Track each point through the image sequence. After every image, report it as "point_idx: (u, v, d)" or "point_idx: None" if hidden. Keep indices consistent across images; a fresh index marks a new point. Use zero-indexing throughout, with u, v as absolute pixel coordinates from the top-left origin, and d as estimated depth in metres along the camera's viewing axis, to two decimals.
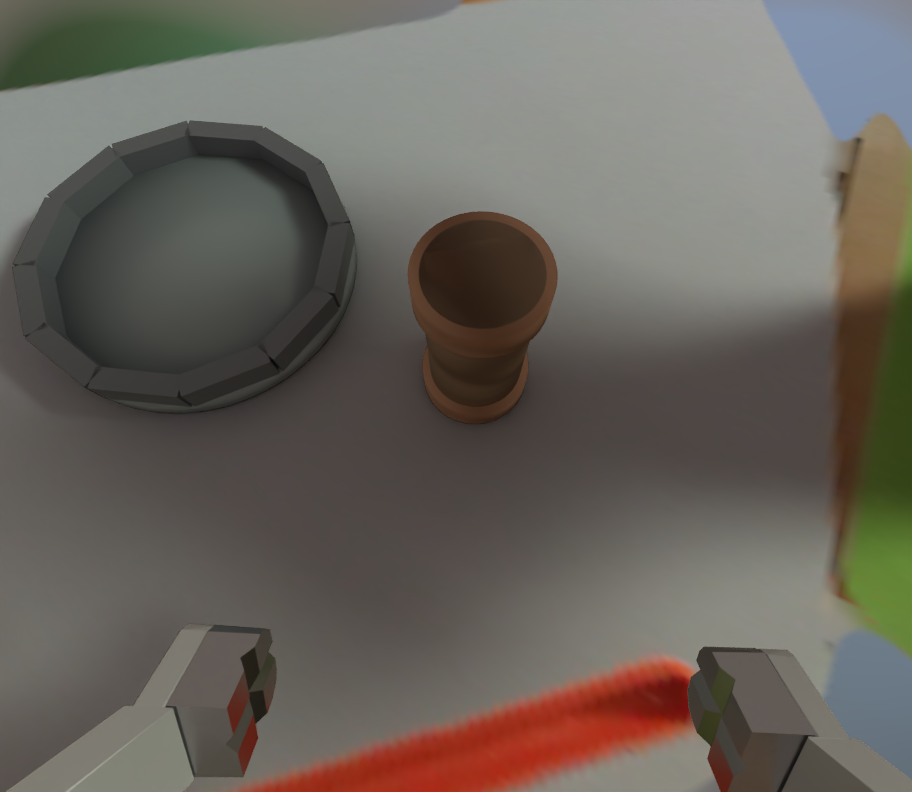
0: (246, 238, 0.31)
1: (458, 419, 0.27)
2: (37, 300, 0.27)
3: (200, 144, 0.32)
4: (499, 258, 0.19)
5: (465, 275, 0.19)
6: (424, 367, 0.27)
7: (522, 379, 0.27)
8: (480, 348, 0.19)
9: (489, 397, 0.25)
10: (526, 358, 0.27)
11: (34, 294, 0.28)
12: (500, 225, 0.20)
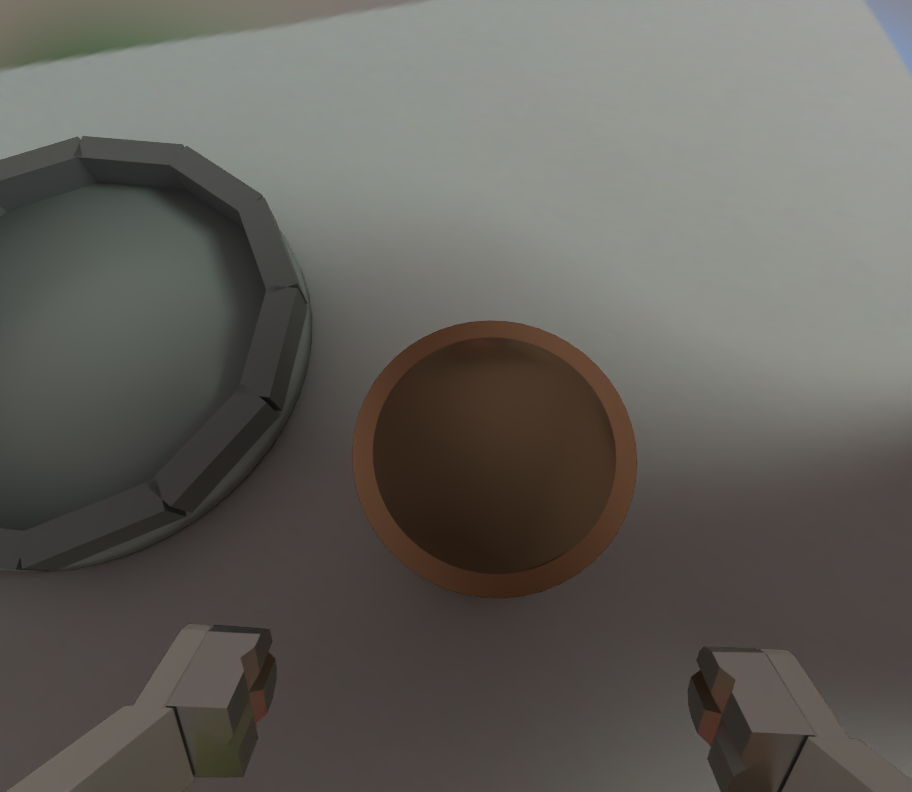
0: (154, 304, 0.22)
1: None
2: None
3: (98, 169, 0.23)
4: (525, 416, 0.10)
5: (462, 452, 0.10)
6: None
7: None
8: None
9: None
10: None
11: None
12: (526, 349, 0.11)
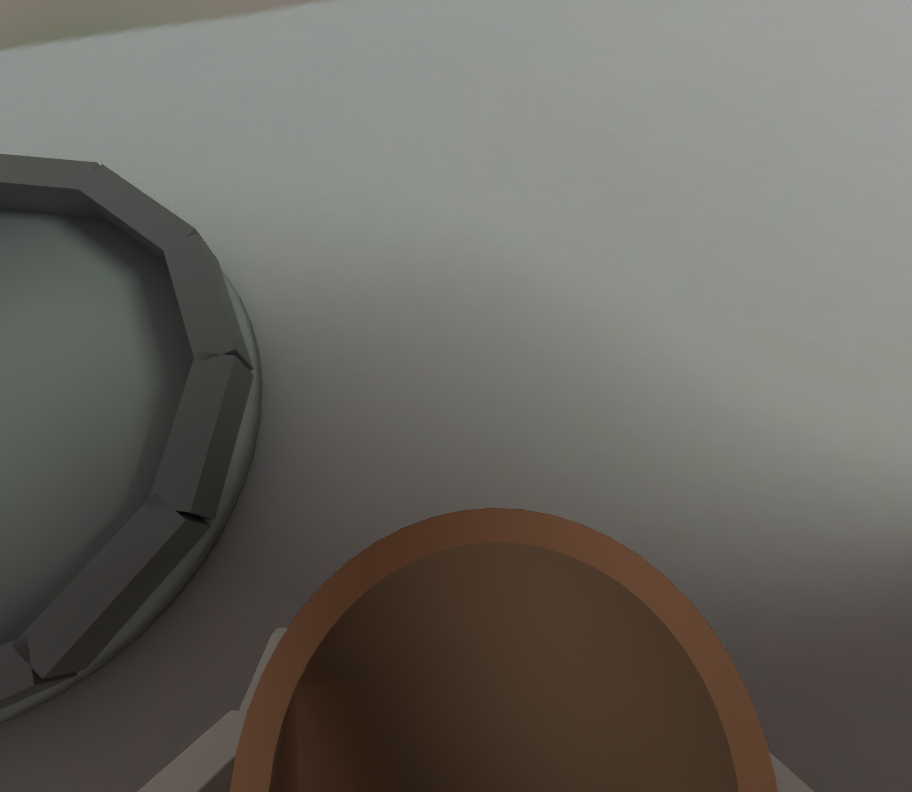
0: (55, 370, 0.17)
1: None
2: None
3: None
4: (563, 716, 0.05)
5: None
6: None
7: None
8: None
9: None
10: None
11: None
12: (561, 567, 0.06)
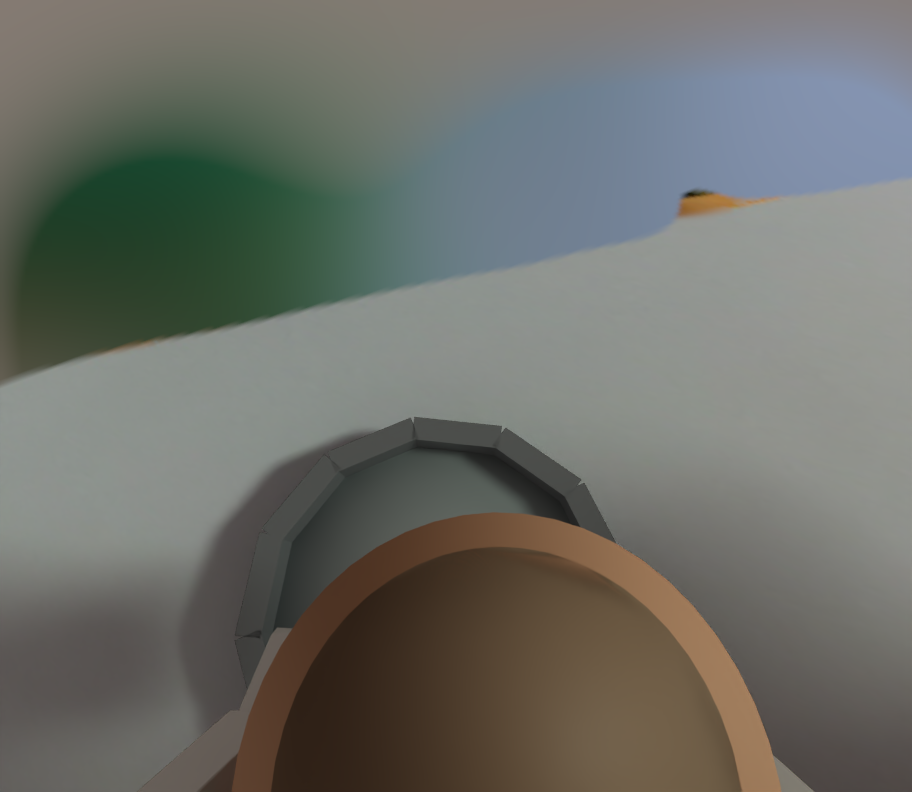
0: None
1: None
2: None
3: (425, 443, 0.27)
4: (566, 723, 0.05)
5: None
6: None
7: None
8: None
9: None
10: None
11: None
12: (563, 572, 0.06)
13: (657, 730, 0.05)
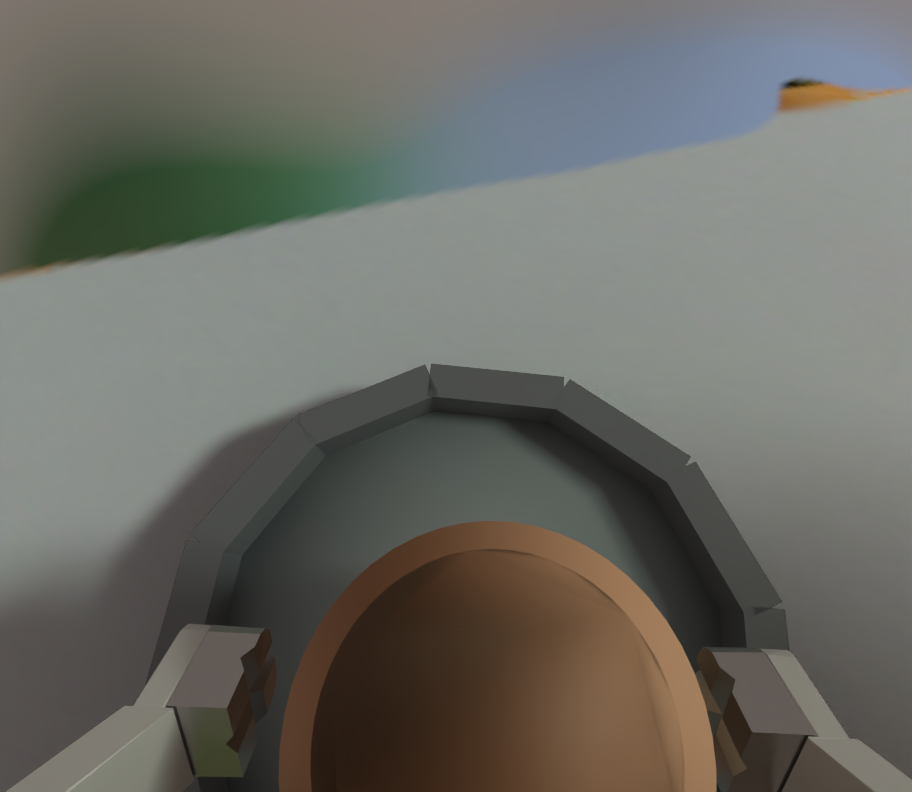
0: None
1: None
2: None
3: (447, 404, 0.18)
4: (544, 689, 0.07)
5: (448, 754, 0.07)
6: None
7: None
8: None
9: None
10: None
11: None
12: (544, 569, 0.07)
13: (616, 695, 0.07)
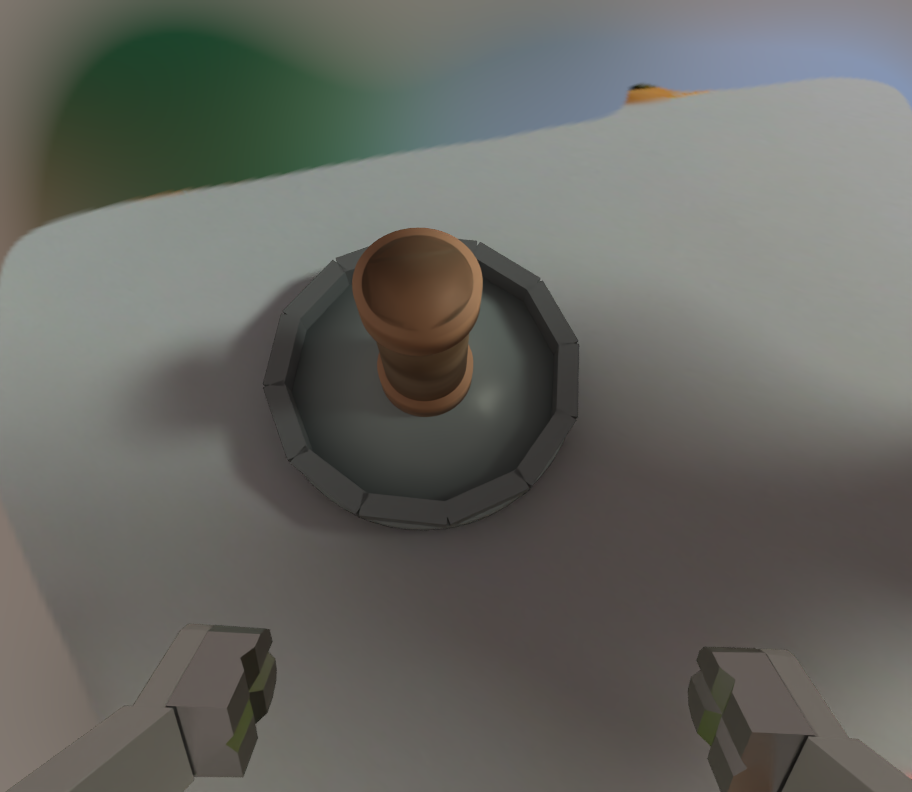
0: None
1: (409, 413, 0.30)
2: (293, 422, 0.29)
3: None
4: (432, 269, 0.22)
5: (403, 283, 0.22)
6: (378, 365, 0.30)
7: (467, 376, 0.30)
8: (414, 347, 0.22)
9: (434, 392, 0.28)
10: (471, 358, 0.30)
11: (289, 416, 0.29)
12: (435, 240, 0.23)
13: (455, 270, 0.22)
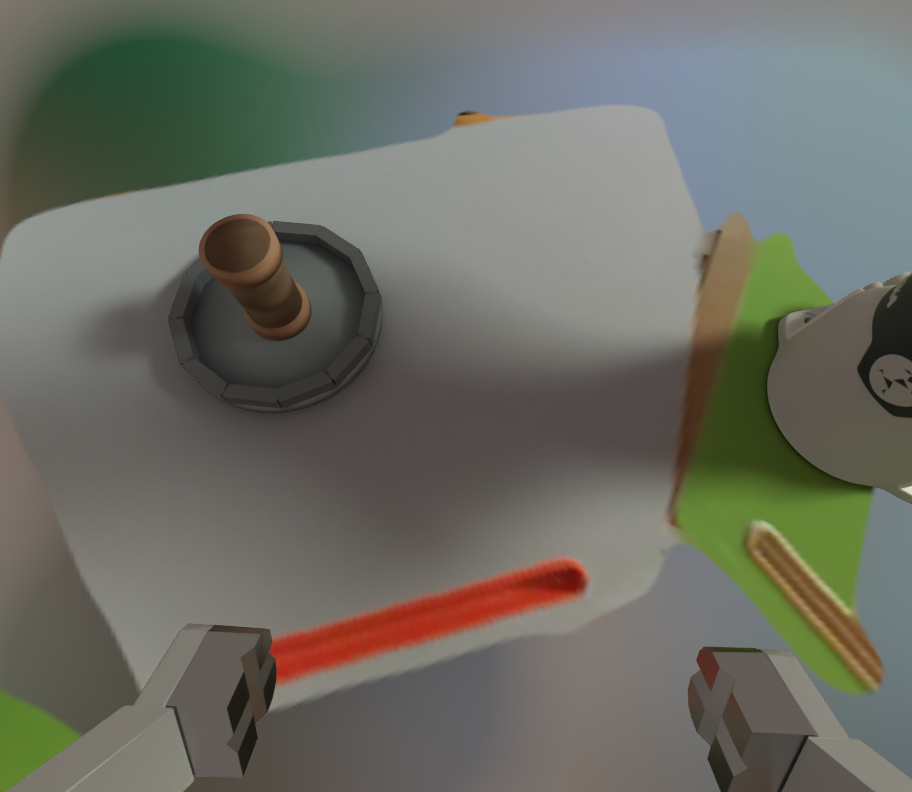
0: (311, 299, 0.47)
1: (266, 338, 0.46)
2: (186, 341, 0.44)
3: (279, 236, 0.49)
4: (247, 238, 0.38)
5: (228, 246, 0.38)
6: None
7: (301, 313, 0.45)
8: (234, 283, 0.37)
9: (274, 321, 0.44)
10: (306, 301, 0.46)
11: (184, 338, 0.44)
12: (251, 221, 0.38)
13: (260, 239, 0.38)
